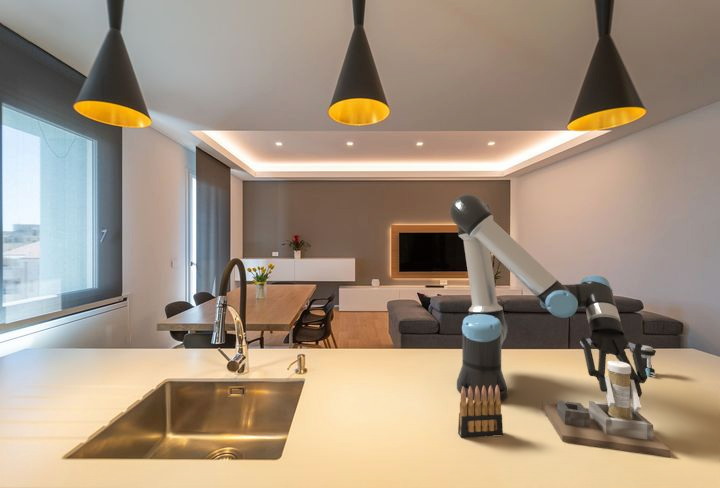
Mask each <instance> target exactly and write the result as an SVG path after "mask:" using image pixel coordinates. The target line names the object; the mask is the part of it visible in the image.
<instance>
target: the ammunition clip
mask: <svg viewBox="0 0 720 488" xmlns="http://www.w3.org/2000/svg"><path fill="white" fill-rule="evenodd" d="M459 402H460V403H459V413H458V425H457V426H458V428H457V429H458V430H457V431H458V432H457V434H458V435H459V437H460V438H461V439H465V438H466V439H467V438H481V437H482V438H483V437H485V436H486V437H494V436H493V435H502V436H504V434H503V432H504V430H503V428H504V427H503V414H502V401H500V390H499V386H498V385H497V386H496V389H495V399H494V398H493V389H492V386H491V385H490V387H489V391H488V401H487V394H486V388H485V386H483V388H482V394H481V401H480V392H479V388H478V386H476V389H475V399H473V392H472V388H471V386H470V387H469V390H468V397H466V392H465V388H464V386H463V387H462V390H461V393H460V401H459ZM486 437H485V438H486Z"/></svg>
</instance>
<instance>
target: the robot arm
mask: <svg viewBox="0 0 720 488" xmlns="http://www.w3.org/2000/svg"><path fill="white" fill-rule="evenodd" d="M449 216H450V219H451V221H452V222H453V223H454V224H455V225H456V227H457V235H458V237H459V238H461V240H463V248H464V253H465V254H464V255H465V262H466V267H467V268H466V269H467V275H468V283H469V290H470V291H469V292H470V299H471V306H470V307H469V309H468V315H467V316H465V317H464V318H463V320H462V325H461V331H462V333H461V334H462V339H461V340H462V354H461V355H462V363H461V368H460V371H459V374H458V376H457V379H456V390H457V392H458V393H460V394H461V390H462V387H463V386H464V388H465V392H466V398H468V390H469V387H470V386H471V388H472V392H473V400H474V399H475V389H476V386H478V388H479V392H480V402H481V394H482V388H483V386H485V388H486V394H487V401H488V391H489V387H490V385H491V386H492V389H493V398H494V399H495V389H496V386H497V385H498V386H499V390H500V401H501V402H502V401H505V400H506V399H507V398H508V386H507V383H506V379H505V376H504V374H503V370H502V346H503V343H504V342H505V340H506V338H507V337H508V332H509V330H508V329H509V328H508V324H507V321H506V320H505V314H504V309H503V306H502V305H500V304H499V303H498V297H497V290H496V283H495V276H494V270H493V263H492V256H491V255H493V257H495V258H496V259H497V260H498V261H499V262H500V263H501V264H503V266H504V267H506V269H508V270H509V271H510V273H512V274H513V275H514V276H515V278H517V279H518V280H519V281H520V282H521V283H522V284H523V285H524V286H525V287H526V288H527V289H528V290H529V291H530V292H531V293H532V294H533V295H534V296H535V297H536V298H537V299H538V300H539V304H540V307H541V308H543V309H546V310H547V311H548V312H549V313H550V314H551V315H553V316H555V317H558V318H560V319H561V318H565V319H566V318H569V317H572V316H573V315H574V314H576V312H577V310H578V309H585V312H586V313H585V314H586V318H587V321H588V328H589V332H590V337H589V338H585V337H581V338H580V341H579V345H580V347H581V348H582V350H583V354H584V358H585V363H586V367H587V372H588V375H589V377H594V378H596V380H597V382H598V384H599V385H598V386H599V389H600V391H601V392H605V396H606V401H607V403H608V406H609V407H613V406H614V404H615V402H614V397H613V393H612V388H611V384H610V379H609V376H606V363H607V362H606V361H607V355H613V356H615V357H616V359H617V361H621V362H625V363H627V364H629V365H630V366H631V373H630V386H631V405H632V408H634V411H636V412H638V413H639V411H641V409H642V405H641V402H640V398H641V397H642V395H643V392H642V387H641V384H645V383H646V381H647V380H648V376H647V374H646V370H645V366H644V363H643V359H642V355H641V348H642V345H643V344H641V343H639V342H637V343H636V344H635V343H632V342H629V340H628V338H626V336H625V332H624V328H623V325H622V322H621V318H620V314H619V311H618V308H617V304H616V300H615V296H614V293H613V288H612V287H611V284H610V282H609V280H608V279H607V278H606V277H604V276H601V275H597V274H596V275H594V274H593V275H588V276H586V277H583V278H582V279H581V280H580V283H575V284H573V283H572V284H562V283H561V281H559V280H558V279H557V278H556V277H555V276H553V275H552V273H550V272H549V271H548V270H547V269H546V268H545V267H544V266H543V265H542V264H541V263H540V262H538V260H537V259H536V258H534V257H533V255H531V254H530V253H529V252H528V251H527V250H526V249H525V248H524V247H522V245H520V244H519V243H518V242H517V241H516V240H515V239H514V238H513V237H512V236H511V235H509V233H507V232H506V231H505V230H504V229H503V228H502V227H501V226H500V224H498V223H496V221H494V215H493V214H492V210H491V207H490V205H489V204H488V203H487V202H486V201H485V200H483V199H482V198H480V197H478V196H477V195H474V194H470V193H468V194H467V193H466V194H465V193H464V194H461V195H459V196H457V197H456V198H455V199H454V200H453V201H452V202H451V204H450V208H449ZM592 345H593V346H594V347H595V348H596V349H597V350H598V362H597V364H598V365H597V368H596V366H595V360H594V357H593V352H592V348H591V346H592ZM626 348H629V351H630V353H631V355H632V356H631V357H632V360H633V364H634V367H635V368H634V367H633V366H632V365H633V364H632V362H631V361H630V360H629V357H628V356H627V355H626V354H627V353H626V351H625V350H626Z"/></svg>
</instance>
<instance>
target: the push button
mask: <svg viewBox="0 0 720 488" xmlns="http://www.w3.org/2000/svg"><path fill="white" fill-rule="evenodd" d="M641 345H642V348H641V355H642V359H643V363H644V366H645V370H646V374H647V377H653V378H656V376H655V375H657V374H656V373H655V372H656V370H655V369H654V368H653V366H652V357H653V356H655V355H656V353H657V350H655V349H653V346H649V345H644V344H641Z"/></svg>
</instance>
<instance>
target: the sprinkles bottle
mask: <svg viewBox="0 0 720 488" xmlns="http://www.w3.org/2000/svg"><path fill="white" fill-rule="evenodd" d="M606 363H607V371H608V377H609V379H610V384H611V388H612V393H613V397H614V402H615V404H614V406H613V407H609V411H608V414H609V415H610V416H611V417H613V418H618V419H627V420H631V416H630V407H632V406H631V405H632V401H631V386H630V373H631V366H630V365H629V364H627V363H625V362H621V361H619V360H608V361H607V362H606Z"/></svg>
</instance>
